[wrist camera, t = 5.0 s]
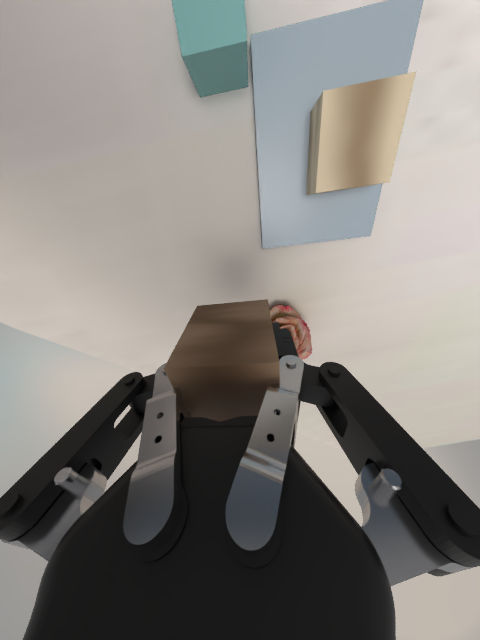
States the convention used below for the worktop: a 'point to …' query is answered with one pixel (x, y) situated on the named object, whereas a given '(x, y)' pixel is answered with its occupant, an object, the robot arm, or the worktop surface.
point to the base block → (356, 134)
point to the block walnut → (225, 360)
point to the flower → (293, 328)
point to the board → (297, 102)
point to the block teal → (213, 43)
